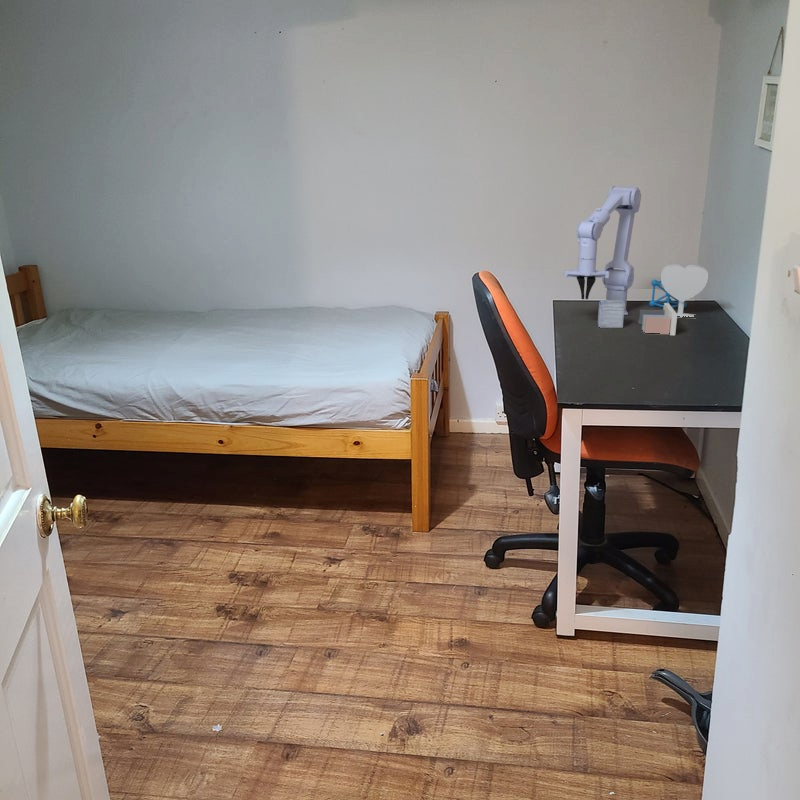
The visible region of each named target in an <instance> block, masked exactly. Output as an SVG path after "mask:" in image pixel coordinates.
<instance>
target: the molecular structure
mask: <svg viewBox="0 0 800 800" xmlns="http://www.w3.org/2000/svg"><path fill="white" fill-rule="evenodd" d="M650 284H651V286H652V293H651V294H652V296H651V300H650V301H649V302H648V303H649V306H650V307H655V306H658V307H661V308H663V307H664V303H669V304H670V306H671V307H672V308H673V309H674V308H678V305H679V300H677V299H676V298H674V297H673V296H671V295H670V294H669V293H668V292H667V291H666V290H665V289H664V287H663V285H662V283H661V280H657V279H652V281H650ZM656 287H658V288H659V289H660V290H661V291H663V292H664V293H665V294H664V295H662V296H661V297H659V298H657V299H656V300H655V293H656ZM664 298H665V300H663V299H664ZM671 298H672V299H674V300H672V299H671ZM671 304H673V305H671ZM687 305H688V304H687V302H686V300H685V301H684V307H683V309H686V307H687Z"/></svg>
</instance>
